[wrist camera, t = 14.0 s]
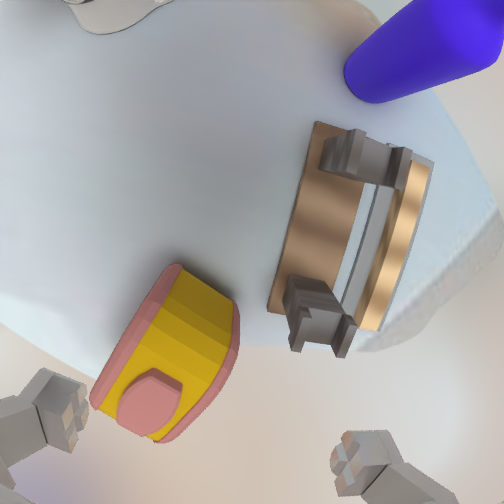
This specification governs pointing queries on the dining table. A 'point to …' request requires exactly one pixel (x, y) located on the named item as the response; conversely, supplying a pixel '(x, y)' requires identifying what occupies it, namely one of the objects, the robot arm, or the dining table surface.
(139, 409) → the alarm clock
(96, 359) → the dining table surface
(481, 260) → the dining table surface
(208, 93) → the dining table surface
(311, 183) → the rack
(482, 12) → the bottle
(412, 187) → the rail
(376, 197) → the mat
